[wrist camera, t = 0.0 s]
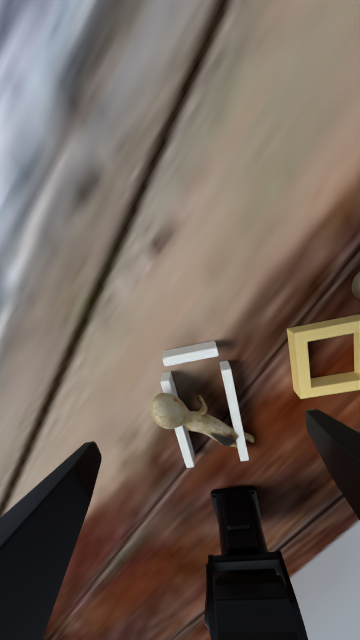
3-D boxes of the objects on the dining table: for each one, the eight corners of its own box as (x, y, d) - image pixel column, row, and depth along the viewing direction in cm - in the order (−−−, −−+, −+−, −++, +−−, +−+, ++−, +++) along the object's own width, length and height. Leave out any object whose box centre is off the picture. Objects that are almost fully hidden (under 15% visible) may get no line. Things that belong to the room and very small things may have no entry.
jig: (366, 430, 24) (380, 444, 23) (187, 453, 27) (186, 467, 25) (365, 310, 21) (383, 314, 19) (156, 352, 23) (153, 359, 22)
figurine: (249, 417, 27) (160, 374, 22) (267, 450, 23) (162, 407, 18) (232, 433, 28) (142, 396, 23) (245, 468, 24) (141, 432, 19)
